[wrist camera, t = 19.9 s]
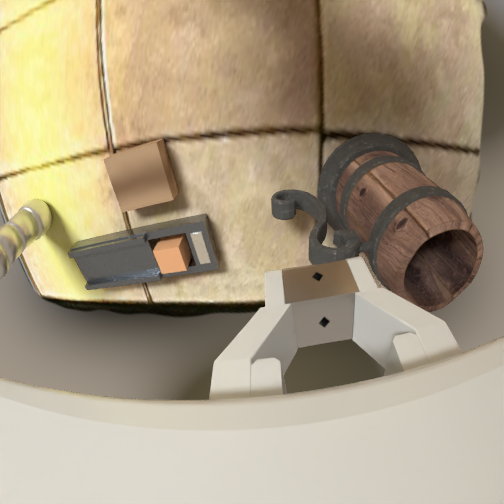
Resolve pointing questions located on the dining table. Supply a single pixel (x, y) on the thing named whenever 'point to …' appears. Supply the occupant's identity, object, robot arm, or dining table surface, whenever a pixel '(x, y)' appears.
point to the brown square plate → (142, 176)
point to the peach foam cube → (172, 254)
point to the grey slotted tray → (142, 253)
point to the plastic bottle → (22, 231)
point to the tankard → (389, 221)
